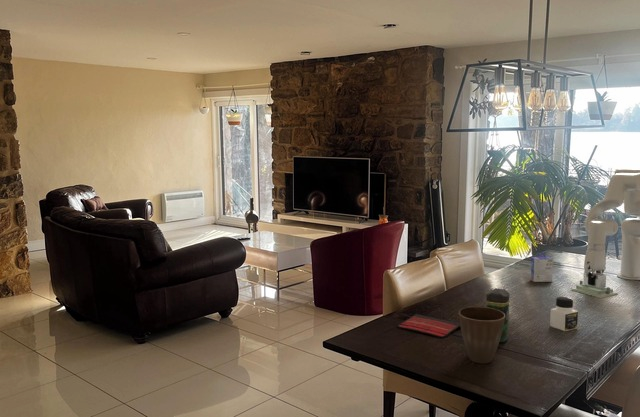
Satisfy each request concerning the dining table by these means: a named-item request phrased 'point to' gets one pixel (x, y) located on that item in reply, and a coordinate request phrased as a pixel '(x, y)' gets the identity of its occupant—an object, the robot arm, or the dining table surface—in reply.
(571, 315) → the medicine bottle
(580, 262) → the dining table surface
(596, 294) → the tray
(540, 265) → the ink cartridge box
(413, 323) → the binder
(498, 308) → the coffee jar
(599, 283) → the block
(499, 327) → the plant pot
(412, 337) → the dining table surface
